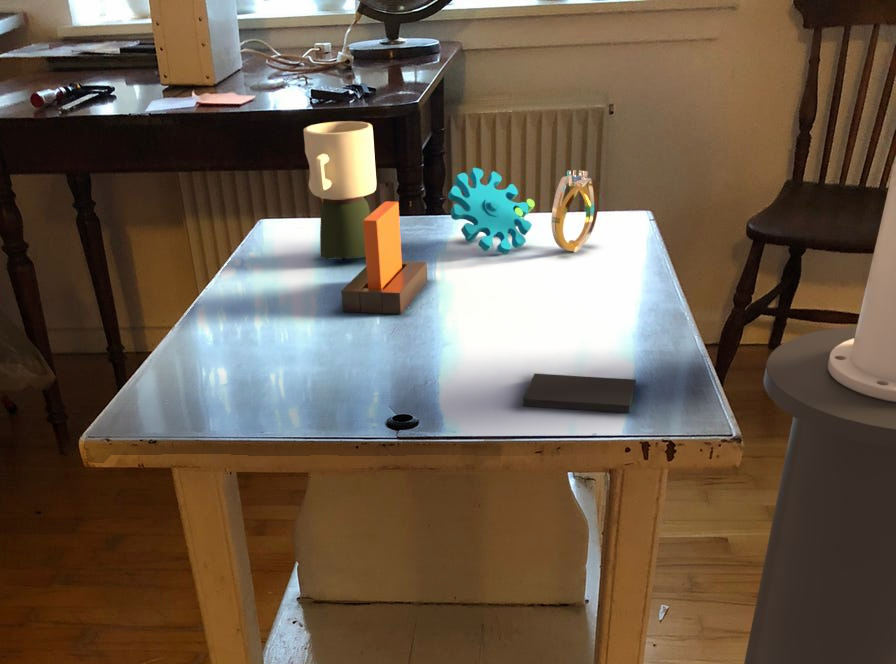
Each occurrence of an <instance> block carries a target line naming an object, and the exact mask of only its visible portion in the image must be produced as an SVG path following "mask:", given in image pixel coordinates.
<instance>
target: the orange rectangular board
mask: <svg viewBox="0 0 896 664" xmlns="http://www.w3.org/2000/svg"><path fill="white" fill-rule="evenodd" d="M399 208H400V206H399V201H384V202H383V203H382V204H380V205H379V206H378V207H377V208H376V209H375V210H373V211H372V212H370V215H369V216H368V217H367V218H365V219H364V220H363V229H364V242H365V255H366V257H365V267H366V268H367V281H368V289H385V288H386V287H387V286H388V285H389V284H390V283H391V282H392V280H393V279H394V278H395V277H396V276H397V275H398V274H399V273H400V272H401V271H402V261H403V260H402V244H401V243H402V242H401V241H402V240H401V225H400V224H401V223H400V209H399Z"/></svg>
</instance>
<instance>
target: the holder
mask: <svg viewBox="0 0 896 664" xmlns="http://www.w3.org/2000/svg"><path fill="white" fill-rule="evenodd" d="M428 282H429V281H428V262H427V261H411V260H410V261H409V260H408V261H407V260H402V271H401V272H400V273H399V274H398V275H397V276H396V277H395V278H394V279H393V280H392V282H391V283H390V284H389V285H388V286H387V287H386V288H385V289H368V281H367V268H366V266H365V267H364V268H362V270H360V272H358V274H357V275H356V276H355V277H354V278H353V279H352V280H351V281H349V283H348V284H346V286H345V287H343V288H342V289H341V292H340V293H341V302H342V311H343V312H344V313H345V312H346V313H365V314H368V313H369V314H385V315H386V314H387V315H388V314H389V315H402V314H403V312H404V311H405V310H406V309H407V307H408V306H409V305H410V304H411V302H412V301H413V300H414V299H415V298H416V296H417V295H418V294H419V293H420V292H421V290H422V289H423V288H424V287H425V286H426V285H427V283H428Z"/></svg>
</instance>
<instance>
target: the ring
mask: <svg viewBox="0 0 896 664" xmlns="http://www.w3.org/2000/svg"><path fill="white" fill-rule="evenodd" d="M588 174H589V171H586V170H583V169H579V170H578V175H577V169H573V172H572V174H571V170H566V175H565V176H562V177H561V178H560V181H559V183H558V186H557V188H556V192H555V195H554V200H553V205H552V212H551V220H550V221H551V223H550V224H551V233H552V236H553V239H554V242H555V244H556V245H557V246H558V247H559V248H561V249H563V250H566V251H569V252H573V253H577V252H578V251H579V250H580V248H582V247H583V246H584V245H585V244H586V243H587V241H588V240H589V238H591V237H590V236H591V235H592V232H593V230H594V228H595V225H596V221H597V217H598V212H599V211H598V210H599V195H598V187H597V183H596V181H595V179H594V178H592V177H591V178H590V177H588ZM567 186H568V187H573V188H572V189H570V190H569V192H568V193H567V195H566V196H565V191H566V189H567ZM579 193H580V194H581V196H582V198H583V201H584V206H585V219H584V225H583V228H582V230H581V232H580V234H579V235H578V237H577V238H576V239H575V240H573V239H570V240H569V241H567V240H566V238H565V235H564V224H565V223H564V222H565V218H566V215H567V213H568V211H569V209H570V206H571V204H572V202H573V201H574V200H575V198H576V197H577V195H578V194H579ZM564 196H565V197H564Z"/></svg>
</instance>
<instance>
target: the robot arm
mask: <svg viewBox="0 0 896 664" xmlns="http://www.w3.org/2000/svg"><path fill="white" fill-rule="evenodd" d="M878 228H879V229H878V232H877V237H876V242H875V246H874V251H873V254H872V260H871V264H870V268H869V271H868V272H869V273H868V278H867V282H866V285H865V290H864V293H863V299H862V303H861V306H860V307H861V308H860V313H859V315H858V316H859V317H858V321H857V325H856V326H857V329H856V334H855V338H854V339H851V340H848V341H845V342H843V343H841V344H839V345H838V346H836V347H835V348H834V349H833V350H832V351H831V353H830V357H829V361H828V371H829V372H830V374H831V376H832V377H833V378H834V379H835V380H836V381H837V382H839V383H840V384H842V385H843V386H845V387H847V388H849V389H851V390H853V391H855V392H858V393H860V394H863V395H866V396H869V397H873V398H877V399H881V400H885V401H890V402H896V158H895V159H894V163H893V167H892V172H891V176H890V180H889V185H888V189H887V194H886V198H885V202H884V207H883V212H882V216H881V220H880V224H879V227H878Z"/></svg>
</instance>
